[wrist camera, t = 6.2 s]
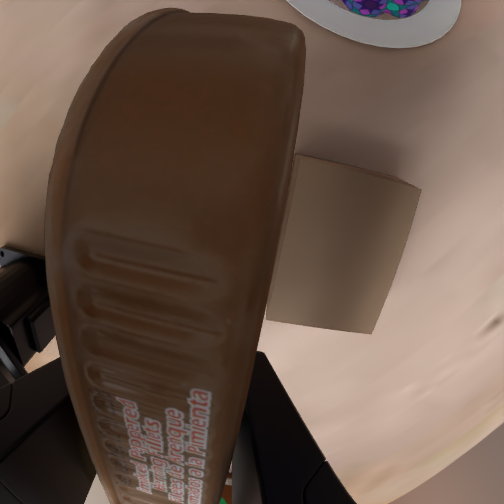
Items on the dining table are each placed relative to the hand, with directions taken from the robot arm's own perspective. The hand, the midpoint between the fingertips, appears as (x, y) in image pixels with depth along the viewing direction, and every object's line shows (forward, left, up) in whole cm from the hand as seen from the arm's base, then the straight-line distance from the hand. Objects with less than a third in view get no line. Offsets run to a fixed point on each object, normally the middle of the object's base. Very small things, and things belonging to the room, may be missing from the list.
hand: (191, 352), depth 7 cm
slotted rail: (0, 0, -11) cm, 11 cm away
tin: (+1, 0, -5) cm, 5 cm away
